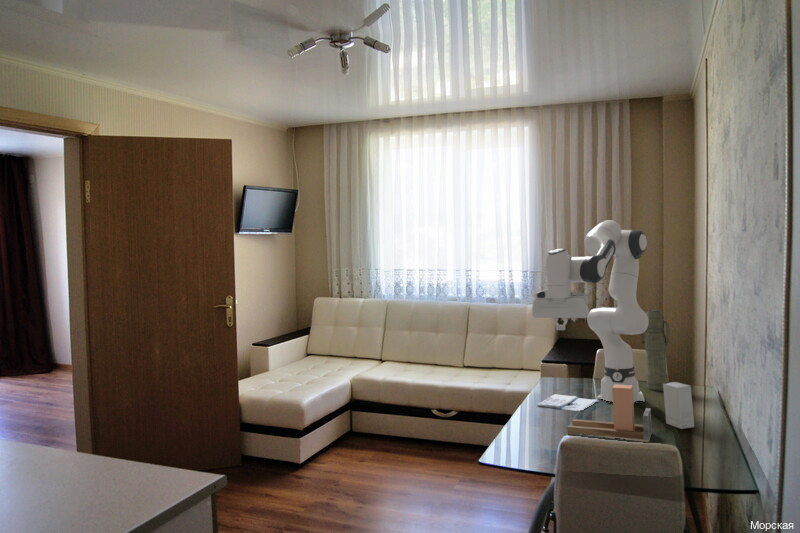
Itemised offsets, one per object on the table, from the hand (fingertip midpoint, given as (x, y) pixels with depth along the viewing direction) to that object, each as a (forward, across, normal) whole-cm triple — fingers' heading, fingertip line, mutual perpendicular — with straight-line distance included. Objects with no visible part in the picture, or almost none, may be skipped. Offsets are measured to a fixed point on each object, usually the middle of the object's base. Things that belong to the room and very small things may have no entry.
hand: (560, 329), depth 221 cm
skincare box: (+35, -38, -10) cm, 53 cm away
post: (+35, -22, +7) cm, 42 cm away
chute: (+35, -16, +7) cm, 39 cm away
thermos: (+35, -26, -65) cm, 78 cm away
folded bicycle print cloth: (+36, +5, -28) cm, 46 cm away
